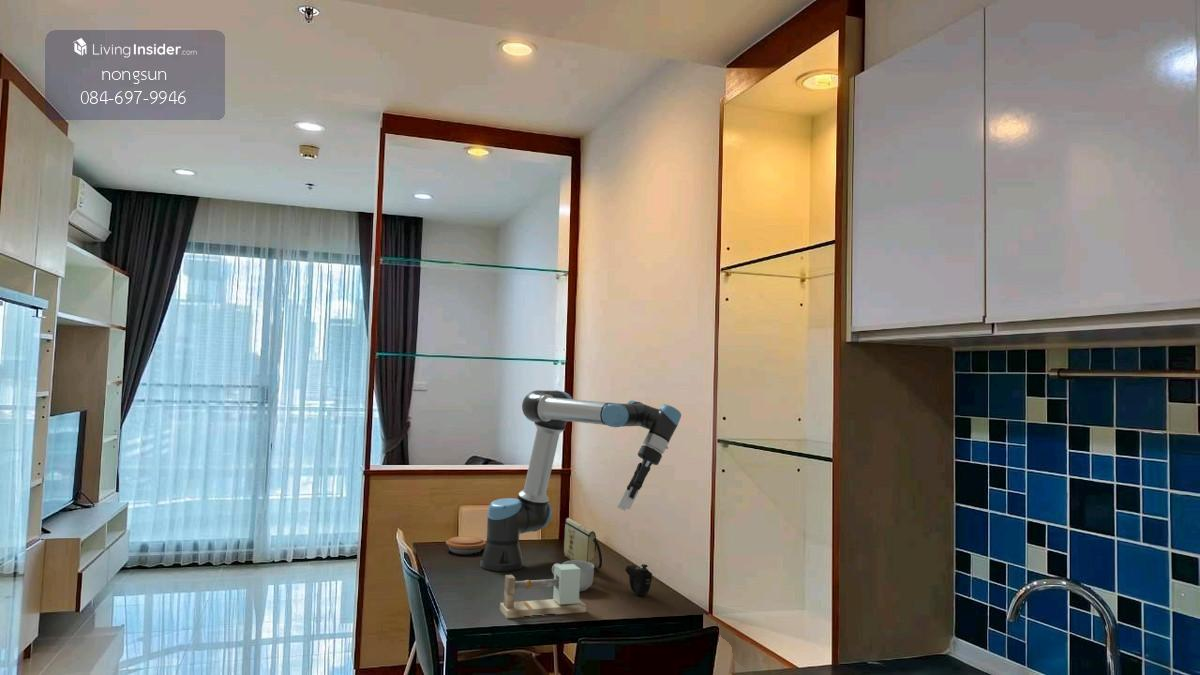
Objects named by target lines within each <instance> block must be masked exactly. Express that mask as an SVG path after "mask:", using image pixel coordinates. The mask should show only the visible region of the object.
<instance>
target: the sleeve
mask: <svg viewBox="0 0 1200 675" xmlns="http://www.w3.org/2000/svg"><path fill="white" fill-rule="evenodd" d="M553 579H559V586H553V592H552V594H553V595H552V599H554V600H555V601H556V602H557V603H558V604H559V605H562V604H576V603H579V600H580V591H579V589H580V568H579V567H577V566H576V565H574V564H562V563H561V565H555V569H554V575H553Z"/></svg>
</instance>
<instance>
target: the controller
mask: <svg viewBox="0 0 1200 675" xmlns="http://www.w3.org/2000/svg"><path fill="white" fill-rule="evenodd" d="M640 566H641V567H639V566H637V565H633V564H632V565H627V566H626V568H625V572H626V573H627V574H628V578H629V580H628V581H629V586H630V590H631V591H632V593H633V594H634V595H636V596H644V595H646V594H648V592H649V591H650V589H651V585H652V584H651V583H652V580H653V579H652V578H653V577H652V576H653V572H651V571H650V570H649V569H648V567H649V566H648V564H644V563H643V564H641V565H640Z"/></svg>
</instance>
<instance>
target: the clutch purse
mask: <svg viewBox="0 0 1200 675" xmlns="http://www.w3.org/2000/svg"><path fill="white" fill-rule="evenodd" d="M562 547H563V556H564V557H565V558H568V559H569V561H572V560H580V561H586V562H590V563H592V564H594V569H601V568H602V566H603V556H602V549H601V548H600V545H599V542H598V541H597V536H596V532H595V531H593V530H592V529H590V528H587V527H586V526H584V525H582V524H581V523H578V522H577V521H575V520H573V519H571V518H570V517H566V518H565V521H564V529H563V546H562ZM596 550H597V554H598V558H599V560H598V561H599V565H598V566H597V567H596V566H595V563H596V562H595V561H596V560H595V559H596Z"/></svg>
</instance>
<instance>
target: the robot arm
mask: <svg viewBox="0 0 1200 675" xmlns="http://www.w3.org/2000/svg"><path fill="white" fill-rule="evenodd" d="M521 408H522V413H523V415H524V417H525V418H526V419H527V420H529V421H531V422H532V423H533V424H534V426H536V433H535V437H534V441H533V446H532V450H531V455H530V460H529V464H528V469H527V472H526V478H525V483H524V487H523V489H522V490H520V491H519V492H518V494H517V498H512V497H506V498H498V499H495V500H493V501H491V502H490V503H489V505H488V510H487V525H486V526H487V527H486V544H485V546H484V547H485V548H484V550H483V552H482V555H481V558H480V565H479V567H480V568H482V569H484V570H488V571H492V572H493V571H495V572H511V571H517V570H520V569H523V567H524V566H523V565H524V564H523V563H524V559H523V557H522V552H521V547H520V534H526V533H532V532H533V533H534V532H537V531H540V530H543V529H544V528H546V527H547V526H548V524H549V523H550V522H551V519H552V515H553V510H552V507H551V504H550V503H549V501H550V498H549V496H548V495H547V492H548V487H549V483H550V477H551V474H552V470H553V465H554V461H555V456H556V452H557V447H558V441H559V438H560V434H561V433H562V432H564V431H565V429H566V425H567V423H568V422H573V423H582V424H583V423H585V424H592V425H604V426H608V427H610V428H620V427H641V428H644V429H647V430H648V433H647V434H646V435H645V439H644V440H643V442H642V444H643V445H641V446H640V448H639V450H638V452H637V456H638V457H639V459H642V461H641V462H639V463H638V464H637V465H636V466H637V467H636V469H635V471H634V473H633V476H632V477H631V480H630V482H629V483H628V485H627V486H626V490H625V491H624V494H623V495H622V498H621V500H620V501H619V503H618V505H617V508H618V509H621V510H622V511H624V512H625V511H626V510H631V507H632V506H633V504H634V502H635V500H636V498H637V495H638V494H639V492H640V490H641V488H642V487H643V484H644V482H645V479H646V477H647V476H648V473H649V472H650V471H651V466H652V465H654V466H658V465H659V463H660V461H661V460H662V458H663V455H662V454H664V453H665V451H666V450H668V449H669V446H668V445H669V443H670V441H671V439H672V436H673V435H674V432H675V431H676V430H677V427H679V422H680V420H681V418H682V413H681V411H680V410H679V409H678V408H676V407H674V406H672V405H669V404H662V405H661V406H660V408H656V407H653V406H650V405H647V404H645V403H642V402H641V401H636V400H629V401H628V402H627V403H619V402H617V403H616V402H605V401H594V400H582V399H573V397H572V396H571V395H570V394H569V393H567V392H565V391H561V390H556V389H555V390H540V389H539V390H538V389H537V390H533V391H531V392H529V393H528V394H526V395H525V397H523V401H522V404H521ZM522 566H523V567H522ZM519 568H520V569H519Z"/></svg>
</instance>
